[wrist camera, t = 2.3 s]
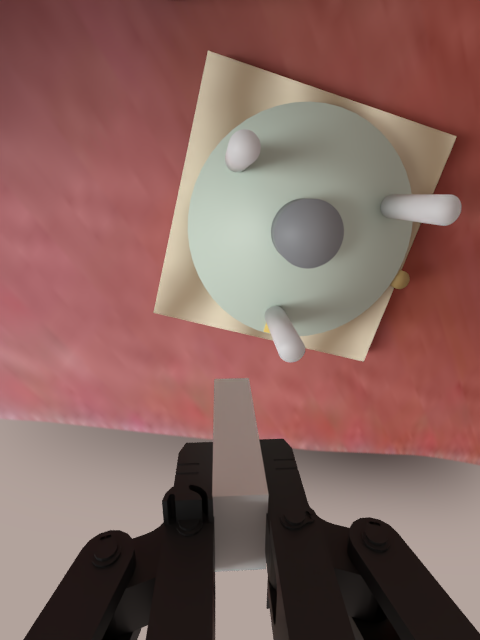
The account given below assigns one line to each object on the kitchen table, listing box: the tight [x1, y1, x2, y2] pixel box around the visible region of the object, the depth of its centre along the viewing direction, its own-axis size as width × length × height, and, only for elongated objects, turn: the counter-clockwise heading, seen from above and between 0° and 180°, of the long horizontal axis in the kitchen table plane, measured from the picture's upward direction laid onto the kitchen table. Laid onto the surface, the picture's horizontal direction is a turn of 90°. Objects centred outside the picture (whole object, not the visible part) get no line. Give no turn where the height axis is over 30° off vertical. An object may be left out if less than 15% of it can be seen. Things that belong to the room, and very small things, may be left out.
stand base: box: [154, 51, 457, 362], centre depth 27 cm, size 18×18×3 cm
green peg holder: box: [188, 102, 461, 362], centre depth 23 cm, size 16×16×8 cm
